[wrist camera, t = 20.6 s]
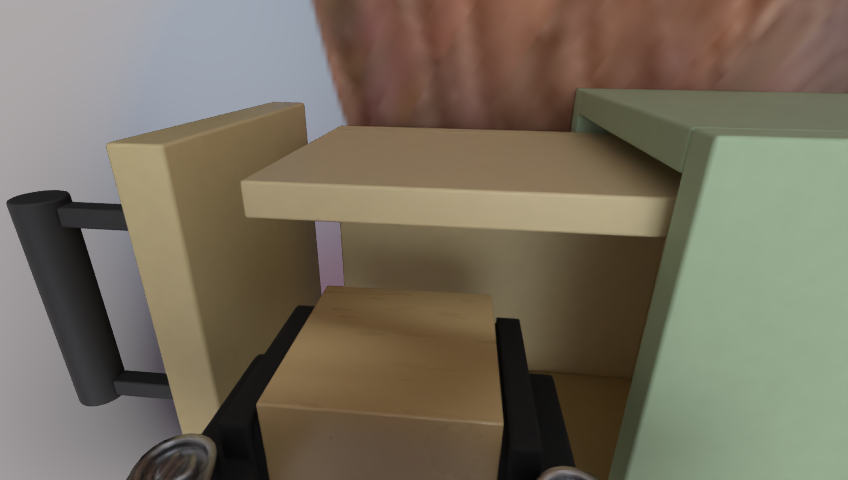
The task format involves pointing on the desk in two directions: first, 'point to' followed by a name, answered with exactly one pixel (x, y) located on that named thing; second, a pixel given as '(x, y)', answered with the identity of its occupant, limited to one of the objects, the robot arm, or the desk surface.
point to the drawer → (361, 249)
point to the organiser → (740, 286)
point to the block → (387, 390)
